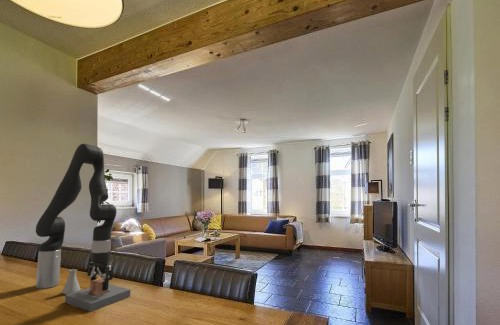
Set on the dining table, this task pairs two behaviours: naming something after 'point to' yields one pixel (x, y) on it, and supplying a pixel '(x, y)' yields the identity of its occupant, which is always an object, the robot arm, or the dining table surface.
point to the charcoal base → (97, 298)
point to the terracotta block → (97, 287)
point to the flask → (71, 283)
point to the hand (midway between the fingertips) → (99, 288)
